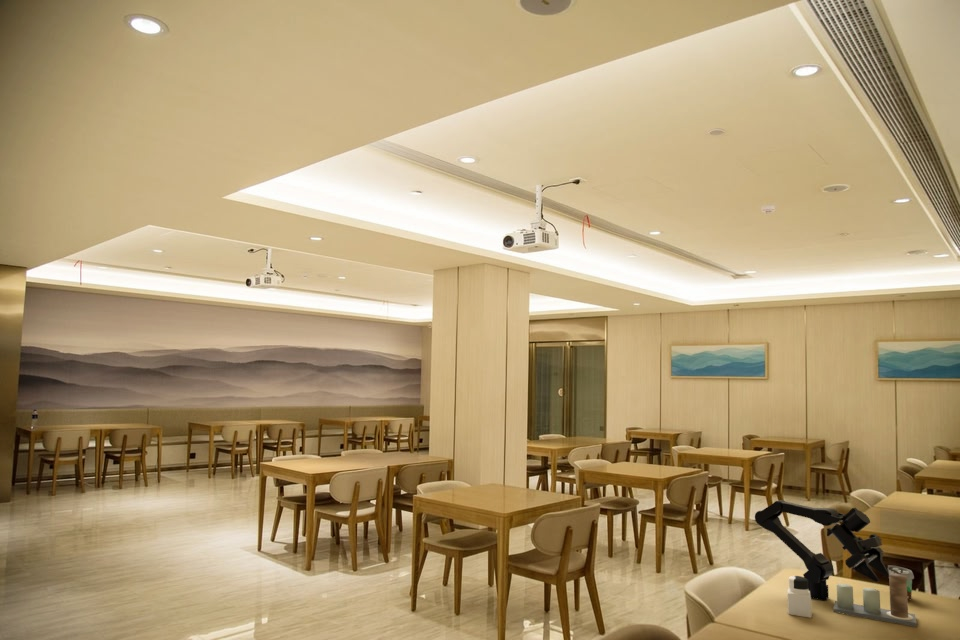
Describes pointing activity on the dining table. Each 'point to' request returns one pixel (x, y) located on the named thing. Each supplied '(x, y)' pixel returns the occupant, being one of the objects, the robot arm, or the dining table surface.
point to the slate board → (877, 615)
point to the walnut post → (898, 595)
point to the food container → (906, 573)
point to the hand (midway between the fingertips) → (883, 579)
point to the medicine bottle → (799, 597)
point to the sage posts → (869, 598)
